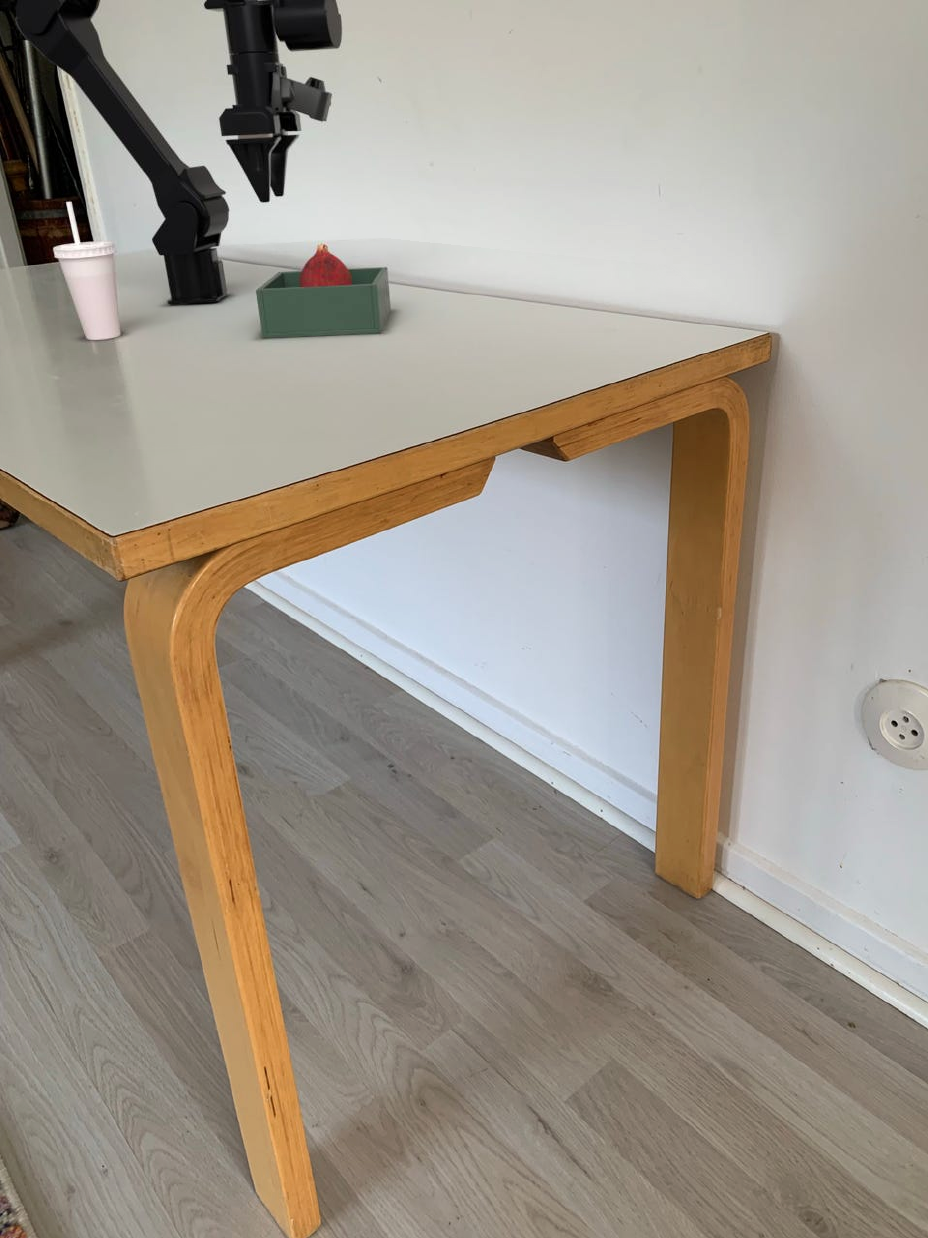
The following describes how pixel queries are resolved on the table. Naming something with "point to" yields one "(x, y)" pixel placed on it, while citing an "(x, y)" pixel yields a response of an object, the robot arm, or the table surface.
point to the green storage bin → (324, 305)
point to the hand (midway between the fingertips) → (272, 199)
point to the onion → (324, 270)
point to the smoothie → (91, 283)
